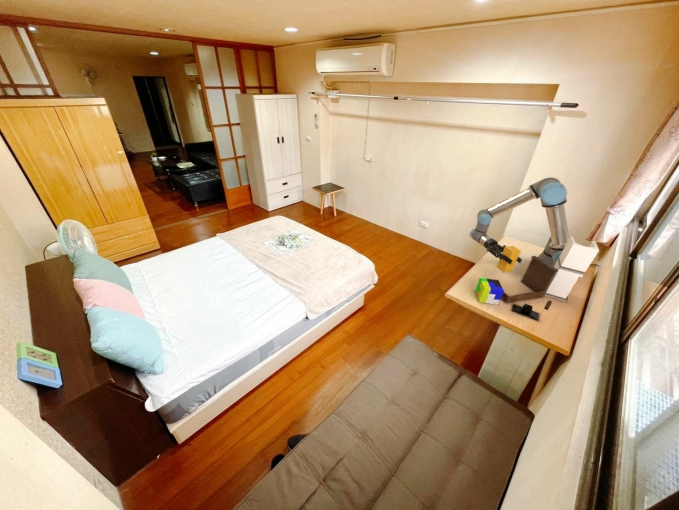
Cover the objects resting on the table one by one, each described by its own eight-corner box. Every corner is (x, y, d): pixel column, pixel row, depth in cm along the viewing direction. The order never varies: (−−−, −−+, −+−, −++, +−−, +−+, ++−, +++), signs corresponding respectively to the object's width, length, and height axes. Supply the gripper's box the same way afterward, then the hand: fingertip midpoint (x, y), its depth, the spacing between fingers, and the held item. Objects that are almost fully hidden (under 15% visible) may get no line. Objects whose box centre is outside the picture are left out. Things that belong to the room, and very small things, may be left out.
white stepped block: (566, 302, 152) (599, 250, 133) (544, 295, 156) (573, 244, 138) (564, 291, 160) (595, 241, 142) (543, 285, 165) (570, 235, 146)
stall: (522, 281, 168) (535, 255, 158) (544, 297, 155) (559, 270, 145) (486, 286, 163) (497, 260, 153) (505, 303, 150) (518, 276, 140)
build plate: (511, 311, 144) (514, 304, 142) (513, 304, 149) (516, 297, 147) (538, 321, 138) (541, 314, 136) (538, 313, 143) (542, 306, 141)
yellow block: (504, 266, 168) (513, 245, 160) (511, 271, 163) (521, 250, 155) (496, 267, 167) (505, 246, 159) (503, 272, 162) (512, 251, 154)
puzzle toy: (497, 304, 148) (504, 290, 143) (479, 301, 150) (484, 288, 145) (492, 293, 157) (498, 280, 152) (475, 290, 158) (480, 277, 153)
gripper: (498, 246, 179) (526, 265, 160) (474, 249, 175) (500, 268, 156) (502, 236, 175) (531, 254, 156) (478, 239, 171) (504, 258, 152)
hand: (515, 261), depth 156 cm, fingers closed on yellow block, 6 cm apart
